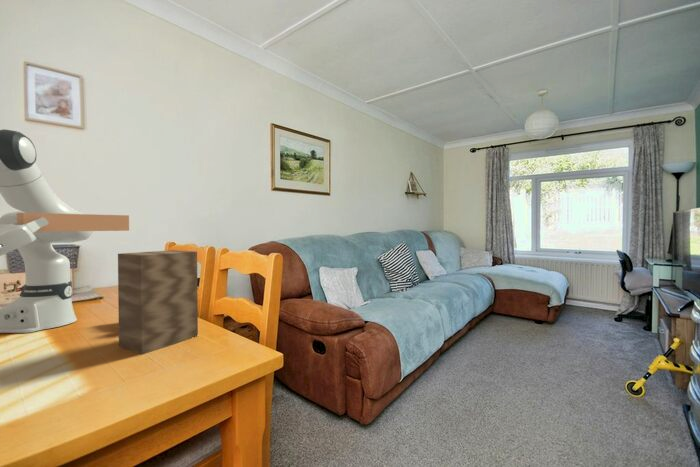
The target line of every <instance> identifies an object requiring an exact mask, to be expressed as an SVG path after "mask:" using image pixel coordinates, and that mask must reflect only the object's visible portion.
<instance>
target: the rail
mask: <svg viewBox="0 0 700 467" xmlns="http://www.w3.org/2000/svg"><path fill="white" fill-rule="evenodd" d="M42 217H43V218H45V219H46V220H47V221H48V225H46V226H44V227H41V228H40V229H38V230H37V231H35V232H51V231H93V232H108V231H109V232H110V231H111V232H116V231H117V232H119V231H121V232H122V231H123V232H125V231H127V232H128V231H130V215H126V214H125V215H124V214H123V215H121V214H88V213H87V214H86V213H84V214H54V213H17V225H23V224H26V223H29V222H31V221H32V220H35V219H37V218H42Z"/></svg>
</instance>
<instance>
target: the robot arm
mask: <svg viewBox="0 0 700 467" xmlns="http://www.w3.org/2000/svg"><path fill="white" fill-rule="evenodd" d="M36 150H37V149H36V147H35V145H34V143H33V141H32V140H31V139H30V138H29V137H28V136H26V135H25V134H23V133H22V132H20V131H17V130H9V129H0V195H1V197H2V198H3V200H4V201H5V203H6V204H7V205H8V206H10V207H11V208H13V209H15V210H18V211H11V212H7V213H5V214H3V215H1V217H0V257H1V256H4V255H6V254H9V253H12V252H13V251H16V250H17V251H18V252H19V253H20V256H21V258H22V260H23V263H24V270H25V284H24V285H23V286H21V287H17V288H15V290H16V291H15V292H16V293H18V292H20V294H19V296H17V297H16V298H15V299H13V300H12V301H10V302H9V303H8V304H6V305H5V306H3V307H2V308H0V334H1V333H2V334H3V333H9V334H10V333H11V334H12V333H13V334H15V333H17V334H19V333H20V334H22V333H23V334H24V333H25V334H28V333H33V332H38V331H41V330H48V329H53V328H58V327H63V326H66V325H69V324H72V323H75V322H76V321H78V318H77V316H76V314H75V310H74V306H73V301H72V296H73V282H72V280H71V262H70V259H69V258H68V257H67V256H66V255H64V254H62V253H59V252H57V251H56V250H55V248H54V247H53V244H57V243H58V244H59V243H60V244H61V243H63V244H67V243H75V242H82V241H85V240H88V239H89V238H90V237H91V236H92V234H93V232H94V231H51V232H35V231H37V230H38V229H40V228H41V227H44V226H46V225H48V221H47V220H46V219H45V218H43V217H42V218H37V219H35V220H32V221H31V222H29V223H26V224H23V225H17V213H54V214H85V212H81V211H79V210H77V209H75V208H73V207H71V206H70V205H68V204H67V203H66V202H64V201H63V200H62V199H61V198H60V197H58V195H57V194H55V192H54V191H53V190H52V188H51V186H50V185H49V183H48V181H47V180H46V178H45V176H44V175H43V174H44V173H43V172H42V170H41V169H40V167H39V165H38V164H37V163H36V161H37V151H36Z"/></svg>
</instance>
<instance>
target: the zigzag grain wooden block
mask: <svg viewBox="0 0 700 467" xmlns="http://www.w3.org/2000/svg"><path fill="white" fill-rule="evenodd" d="M117 281H118V282H117V283H118V284H117V288H118V289H117V291H118V292H117V293H118V295H117V298H118V302H117V303H118V347H121V348H123V349H127V350H129V351H131V352H134V353H137V354H140V355H145V354H148V353H151V352H154V351H157V350H160V349H163V348H166V347H168V346H172V345H176V344H178V343H181V341H182V342H184V341H188V340H191V339H193V338H192V337H194V336H197V335H198V336H199V331H198V329H199V328H198V326H199V323H198V322H199V321H198V318H199V317H198V315H199V313H198V312H199V311H198V302H199V301H198V251H193V250H192V251H191V250H190V251H189V250H176V249H175V250H173V249H172V250H170V249H168V250H154V251H142V252H141V251H139V252H124V253H117ZM198 336H197V337H198ZM190 338H191V339H190ZM194 338H195V337H194ZM187 339H188V340H187Z"/></svg>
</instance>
